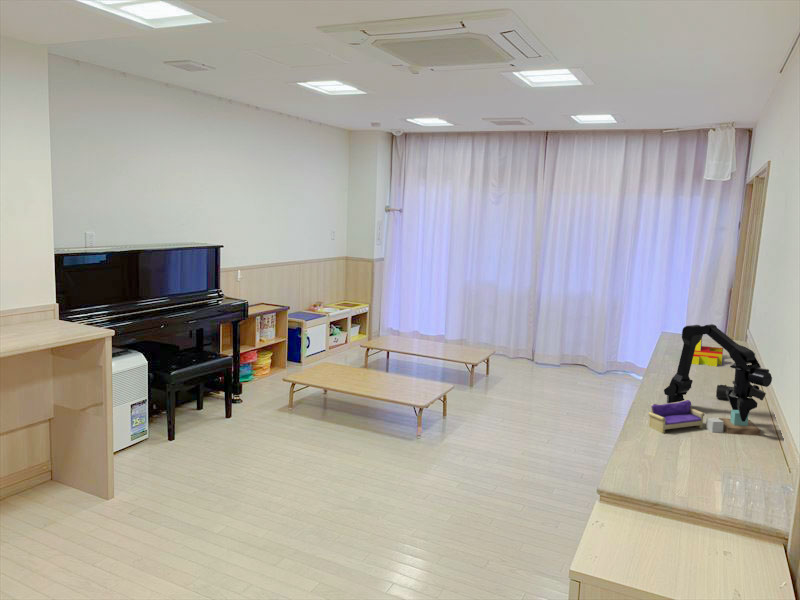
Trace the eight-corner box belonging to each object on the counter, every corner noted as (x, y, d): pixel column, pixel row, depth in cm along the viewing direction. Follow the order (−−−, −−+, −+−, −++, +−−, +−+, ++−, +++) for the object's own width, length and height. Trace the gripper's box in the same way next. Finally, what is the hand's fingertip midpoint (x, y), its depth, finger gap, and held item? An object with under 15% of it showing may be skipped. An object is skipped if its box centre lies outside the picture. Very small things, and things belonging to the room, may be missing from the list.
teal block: (734, 425, 248) (735, 413, 247) (730, 421, 252) (731, 409, 252) (747, 426, 247) (748, 414, 246) (743, 422, 251) (744, 410, 251)
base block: (727, 434, 245) (727, 427, 245) (718, 424, 257) (718, 418, 256) (759, 437, 243) (760, 429, 242) (749, 426, 254) (749, 420, 254)
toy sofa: (661, 434, 245) (663, 409, 243) (647, 427, 253) (648, 403, 252) (704, 429, 251) (705, 405, 250) (688, 422, 259) (690, 398, 258)
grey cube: (712, 432, 246) (712, 421, 246) (705, 428, 251) (706, 418, 250) (722, 432, 247) (723, 421, 246) (716, 428, 251) (717, 418, 251)
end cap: (715, 400, 290) (716, 386, 289) (717, 396, 295) (718, 383, 294) (739, 403, 284) (740, 389, 283) (741, 400, 290) (742, 386, 289)
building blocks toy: (685, 363, 361) (687, 333, 359) (688, 355, 383) (690, 326, 381) (721, 367, 352) (723, 336, 350) (722, 358, 374) (724, 329, 372)
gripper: (773, 388, 236) (769, 426, 238) (755, 375, 254) (752, 411, 257) (742, 386, 238) (738, 424, 241) (726, 374, 257) (724, 410, 259)
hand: (739, 417), depth 249 cm, fingers open, 9 cm apart
